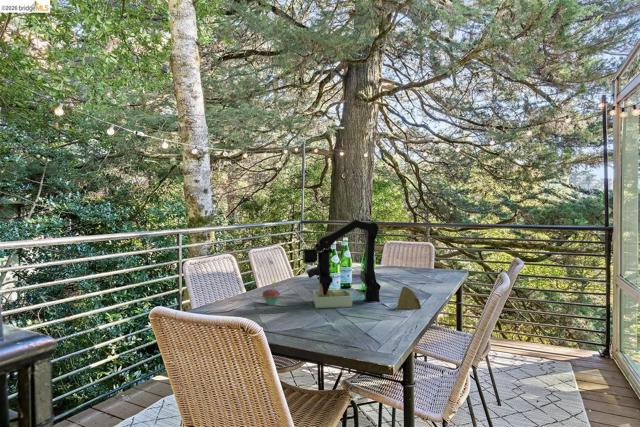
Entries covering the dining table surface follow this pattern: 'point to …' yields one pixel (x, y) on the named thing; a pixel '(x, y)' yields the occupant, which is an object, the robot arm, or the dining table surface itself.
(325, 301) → the tote
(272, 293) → the cupcake
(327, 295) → the tan capsule
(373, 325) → the dining table surface
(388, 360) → the dining table surface
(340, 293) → the maple cube
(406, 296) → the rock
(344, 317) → the dining table surface
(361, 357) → the dining table surface
